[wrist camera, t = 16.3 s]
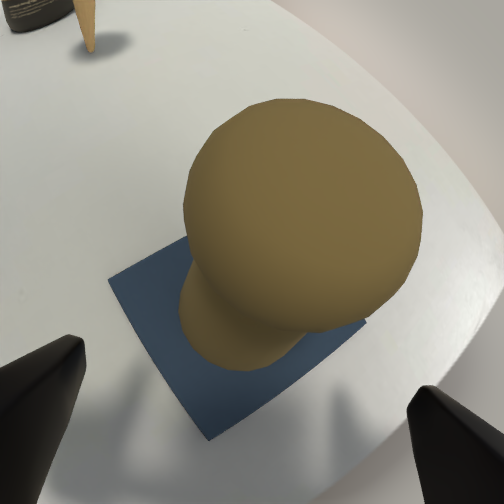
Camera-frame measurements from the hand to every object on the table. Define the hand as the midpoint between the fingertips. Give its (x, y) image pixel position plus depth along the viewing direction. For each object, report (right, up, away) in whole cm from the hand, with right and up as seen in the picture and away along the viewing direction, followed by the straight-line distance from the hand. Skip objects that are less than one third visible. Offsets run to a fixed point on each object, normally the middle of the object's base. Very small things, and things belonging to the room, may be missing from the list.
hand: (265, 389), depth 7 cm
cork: (-1, 0, +8) cm, 8 cm away
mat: (-1, +1, +8) cm, 8 cm away
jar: (-26, +32, +17) cm, 45 cm away
